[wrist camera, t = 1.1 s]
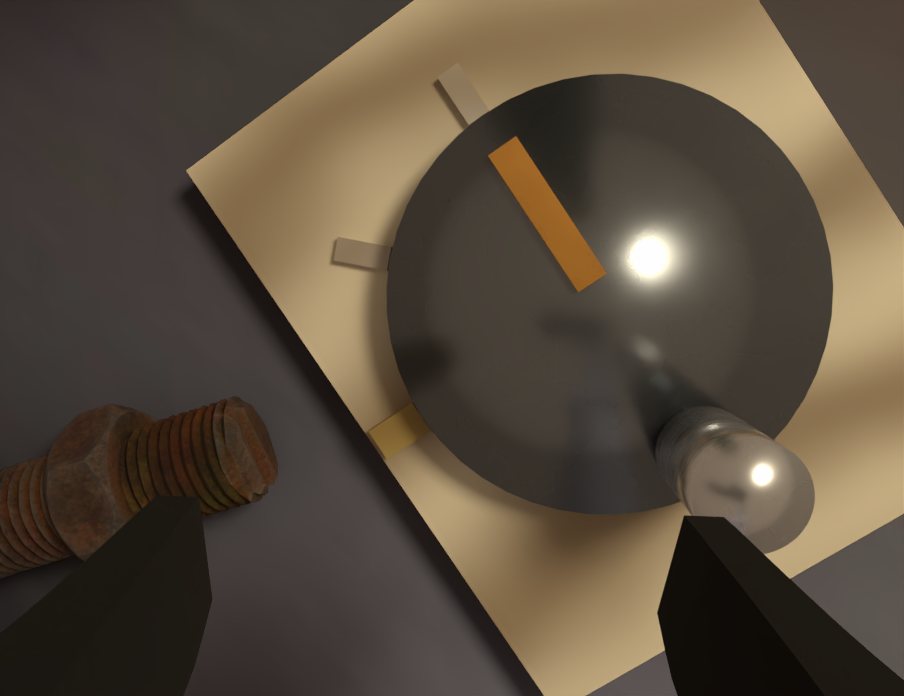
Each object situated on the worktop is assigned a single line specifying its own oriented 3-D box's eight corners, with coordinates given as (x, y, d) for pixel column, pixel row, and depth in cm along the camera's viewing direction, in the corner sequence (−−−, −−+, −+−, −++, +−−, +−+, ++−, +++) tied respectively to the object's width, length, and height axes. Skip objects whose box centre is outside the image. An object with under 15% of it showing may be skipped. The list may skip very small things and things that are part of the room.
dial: (908, 368, 19) (1039, 398, 15) (544, 586, 21) (554, 680, 16) (666, -8, 19) (719, -105, 14) (312, 243, 21) (250, 234, 16)
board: (1007, 427, 21) (1045, 439, 19) (553, 690, 23) (556, 718, 21) (639, -148, 20) (649, -181, 19) (203, 176, 22) (181, 169, 21)
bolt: (301, 439, 25) (-80, 555, 26) (235, 325, 22) (-188, 461, 23) (286, 574, 20) (-181, 709, 21) (200, 450, 17) (-333, 614, 18)
